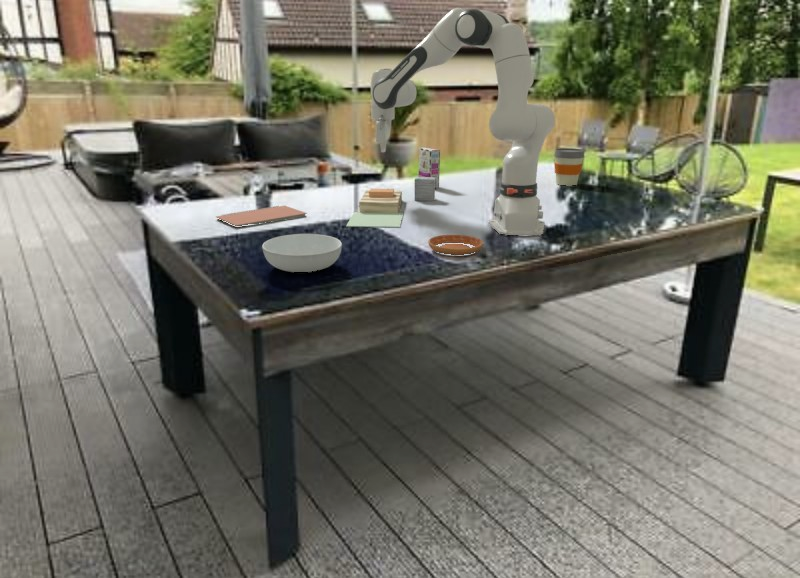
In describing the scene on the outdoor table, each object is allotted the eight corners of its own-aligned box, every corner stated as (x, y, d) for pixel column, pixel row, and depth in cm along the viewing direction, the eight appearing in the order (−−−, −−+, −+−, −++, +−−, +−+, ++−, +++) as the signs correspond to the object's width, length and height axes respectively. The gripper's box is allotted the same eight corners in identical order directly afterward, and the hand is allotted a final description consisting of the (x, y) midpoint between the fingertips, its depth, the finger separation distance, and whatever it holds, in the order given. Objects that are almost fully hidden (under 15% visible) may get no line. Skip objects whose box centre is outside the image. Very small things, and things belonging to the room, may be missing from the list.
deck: (397, 213, 228) (397, 202, 227) (359, 213, 229) (359, 202, 228) (401, 200, 249) (401, 190, 247) (366, 200, 250) (366, 190, 248)
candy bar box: (439, 188, 271) (440, 149, 266) (429, 189, 269) (430, 150, 264) (428, 184, 281) (428, 146, 275) (417, 185, 279) (418, 147, 273)
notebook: (283, 209, 237) (283, 204, 236) (306, 217, 225) (306, 212, 224) (214, 220, 221) (214, 215, 220) (236, 230, 208) (235, 224, 208)
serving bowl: (319, 284, 157) (318, 258, 154) (248, 275, 164) (246, 249, 162) (355, 261, 175) (354, 237, 172) (290, 253, 182) (288, 230, 180)
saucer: (457, 240, 195) (458, 231, 194) (494, 252, 183) (494, 242, 182) (417, 249, 186) (417, 239, 185) (452, 262, 174) (453, 252, 173)
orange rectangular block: (392, 197, 235) (392, 192, 235) (368, 197, 236) (368, 191, 235) (394, 194, 241) (394, 188, 240) (370, 193, 241) (370, 188, 241)
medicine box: (434, 198, 252) (435, 177, 249) (434, 201, 248) (434, 179, 245) (415, 198, 252) (415, 176, 249) (414, 200, 248) (414, 178, 245)
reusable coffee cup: (546, 182, 284) (549, 148, 278) (571, 181, 287) (574, 147, 282) (561, 187, 272) (564, 152, 267) (586, 186, 276) (590, 151, 271)
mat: (399, 227, 209) (399, 226, 209) (346, 226, 210) (346, 225, 210) (403, 213, 228) (403, 212, 228) (354, 212, 229) (354, 212, 229)
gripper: (388, 116, 227) (389, 155, 232) (393, 112, 246) (393, 148, 251) (371, 116, 227) (372, 155, 232) (377, 112, 246) (377, 148, 251)
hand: (383, 151), depth 242 cm, fingers closed
